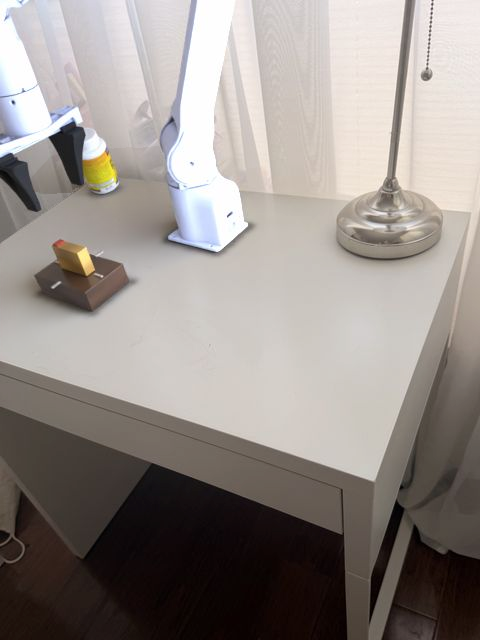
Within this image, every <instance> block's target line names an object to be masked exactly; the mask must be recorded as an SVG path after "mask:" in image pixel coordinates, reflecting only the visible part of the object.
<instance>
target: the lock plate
mask: <svg viewBox="0 0 480 640" xmlns="http://www.w3.org/2000/svg"><path fill="white" fill-rule="evenodd" d="M103 253H104V250H100V251H99V252H97V253H95V254H92V253H89V256H90V258H91V261H92V263H93V266H94V268H95V270H94V271H93V272H92V273H90V274H89V275H88V276H84V275H81V274H78V273H75V272H72V271H69V270H66V269H63V268H61V266H60V264H59V262H58V259H57V258H56V259H55V260H54V261H52V262H51V263H50V264H48V265H47V266H45V267H44V268H42V269H41V270H39V271H38V272H37V273H35V274H34V275H33V277H34V278H35V280H36V282H37V284H38V287H39V289H40V291H41V292H42V294H44V295H46V296H49V297H53V298H54V299H58V300H61V301H63V302H66V303H68V304H71V305H74V306H76V307H80V308H82V309H85V310H87V311H90V312H94V311H95V310H97V309H98V308H100V307H101V305H103V304H104V303H106V302H107V301H108V300H109V299H111V297H113V296H114V295H115V294H117V293H118V292H119V291H120V290H121V289H123V288H124V287H125V286H126V285H128V284H129V283H130V280H129V277H128V273H127V271H126V268H125V266H124V263H123V262H122V263H121V262H119V261H115V260H112V259H108V258H105V257H102V256H100V255H101V254H103Z"/></svg>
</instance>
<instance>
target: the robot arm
mask: <svg viewBox="0 0 480 640" xmlns="http://www.w3.org/2000/svg"><path fill="white" fill-rule="evenodd" d="M29 1H30V0H0V125H1V127H2V130H3V131H1V132H0V179H1V180H2V182H4V183H5V184H6V185H7V186H8V187H9V188H10V189H11V190H12V191H13V192H14V193H15V195H16V196H17V197H18V198H19V199H20V201H21V202H22V204H23V205H24V207H25V208H26V209H27V211H31V212H35V213H39V212H40V211H42V206H41V202H40V200H39V198H38V196H37V194H36V191H35V189H34V186H33V183H32V180H31V175H30V171H29V164H28V161H23V160H20V159H19V158H18V157H17V156H15V154H18V153H19V152H21V151H23V150H25V149H27V148H29V147H31V146H33V145H35V144H37V143H39V142H41V141H43V140H45V139H47V138H48V140H49V141H50V143H51V144H52V146H53V147H54V149H55V151H56V153H57V155H58V157H59V159H60V161H61V163H62V166H63V169H64V172H65V175H66V176H67V178H68V180H69V182H70V184H71V185H76V186H79V187H82V186H84V185H85V178H84V175H83V146H84V140H85V136H86V134H85V131H84V128H85V127H83V126H78V125H79V124H81V123H83V118H82V115H81V112H80V110H79V107H78V106H73V105H65V106H64V107H61V108H59V109H56V110H53V111H50V112H49V109H48V107H47V105H46V102H45V99H44V95H43V94H42V91H41V88H40V86H39V83H38V80H37V78H36V75H35V72H34V70H33V67H32V63H31V62H30V59H29V57H28V53H27V51H26V48H25V45H24V43H23V41H22V39H21V38H20V37H19V34H18V32H17V29H16V26H15V23H14V21H13V18H12V16H11V14H9V11H10V8H17V9H19V8H21V7H23V6H24V5H25V4H26V3H28V2H29ZM235 2H236V0H190V5H189V12H188V17H187V24H186V30H185V37H184V42H183V43H184V44H183V48H182V49H183V50H182V56H181V62H180V68H179V75H178V80H177V81H178V82H177V88H176V93H175V98H174V100H173V102H172V105H171V107H170V113H169V116H168V119H167V121H166V122H165V124H164V125H163V126H162V127H161V130H160V132H159V136H158V137H159V138H158V139H159V146H160V149H161V151H162V153H163V156H164V158H165V164H166V169H167V173H166V174H165V181H166V184H167V188H168V192H169V197H170V201H171V204H172V208H173V212H174V216H175V219H176V224H177V227H178V228H177V229H175V230H174V231H173V232H171V233H170V234H169V235H168V236H167V239H168V240H169V241H173V242H176V243H179V244H184V245H188V246H191V247H196V248H199V249H204V250H207V251H211V252H216V253H218V252H220V251H221V250H222V249H224V247H226V246H227V245H228V244H229V243H230V242H232V241H233V240H234V239H235V238H236V237H238V235H239V234H241V233H242V232H243V231H244V230H245V229H246V228H247V227H248V226H249V224H248V222H247V221H245V220H244V214H243V208H242V201H241V195H240V189H239V188H238V185H237V184H236V182H234V181H232V180H230V179H227V178H226V177H224V176H222V174H220V172H219V171H218V167H217V166H216V165H217V164H216V156H215V153H214V149H213V142H214V137H215V123H214V122H215V121H214V108H215V103H216V99H217V93H218V90H219V89H218V88H219V83H220V78H221V74H222V68H223V63H224V58H225V54H226V53H225V52H226V47H227V42H228V37H229V33H230V29H231V28H230V27H231V22H232V17H233V12H234V7H235Z"/></svg>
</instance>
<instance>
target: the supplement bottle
mask: <svg viewBox="0 0 480 640" xmlns="http://www.w3.org/2000/svg"><path fill="white" fill-rule="evenodd" d="M83 128H84V131H85V134H86V136H85V140H84V146H83V175H84V181H85V182H86V184H87V186H88V188H89V189H90V191H91V192H92V193H95V194H97V195H99V194H100V195H104V194H107V193H111V192H112V191H114V190H116V188H117V187H118V186H119V184H120V177H119V174H118V172H117V169H116V166H115V164H114V161H113V159H112V156H111V154H110V150H109V148H108V146H107V143H106V141H105V139H104V138H102V137H100V136H99V135H98V133H97V131H96V130H95V129H94V128H92V127H83Z"/></svg>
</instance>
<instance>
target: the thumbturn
mask: <svg viewBox="0 0 480 640" xmlns="http://www.w3.org/2000/svg"><path fill="white" fill-rule="evenodd" d="M51 248H52V251H53V252H54V255H55V258H56V260H57V259H58V262H59V264H60V266H61V268H63V269H66V270H69V271H72V272H75V273H78V274H81V275H84V276H88V275H89V274H90V273H92V272H93V271H94V270H95V268H94V266H93V263H92V261H91V258H90V256H89V254H90V253H89V251H88V248H87V247H86V246H83V245H81V244H80V245H79V244H77V243H73V242H69V241H66V240H64V239H62V238H59V239H58V240H56V241H54V242H53V243H52V245H51Z"/></svg>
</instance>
